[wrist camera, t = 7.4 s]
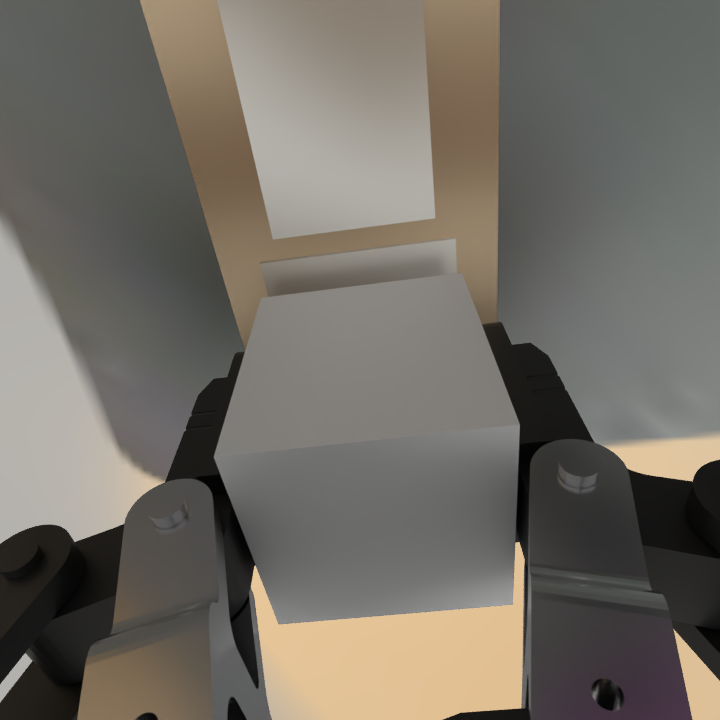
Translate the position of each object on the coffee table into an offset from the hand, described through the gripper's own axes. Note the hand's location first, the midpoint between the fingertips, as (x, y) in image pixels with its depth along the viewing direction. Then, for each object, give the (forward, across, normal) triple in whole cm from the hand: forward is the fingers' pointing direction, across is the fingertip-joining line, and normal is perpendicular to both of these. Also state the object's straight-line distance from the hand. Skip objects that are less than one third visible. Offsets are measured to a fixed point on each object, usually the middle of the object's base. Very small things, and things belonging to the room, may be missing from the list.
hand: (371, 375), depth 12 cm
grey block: (0, 0, 0) cm, 0 cm away
